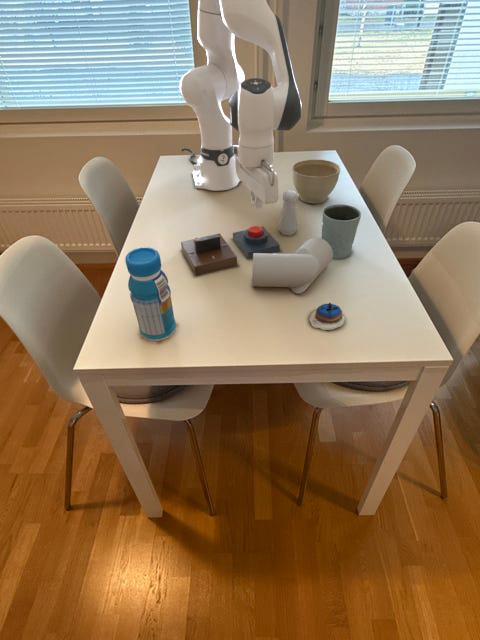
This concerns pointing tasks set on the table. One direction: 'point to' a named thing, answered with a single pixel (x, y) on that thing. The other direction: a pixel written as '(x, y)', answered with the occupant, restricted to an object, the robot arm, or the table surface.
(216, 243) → the lever
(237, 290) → the table surface
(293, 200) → the salt shaker
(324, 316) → the dessert
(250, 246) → the button box
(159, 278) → the beverage bottle
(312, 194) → the planter bowl
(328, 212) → the light blue cup
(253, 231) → the red button
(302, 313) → the table surface
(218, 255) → the dial base
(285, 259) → the bent grey cylinder
